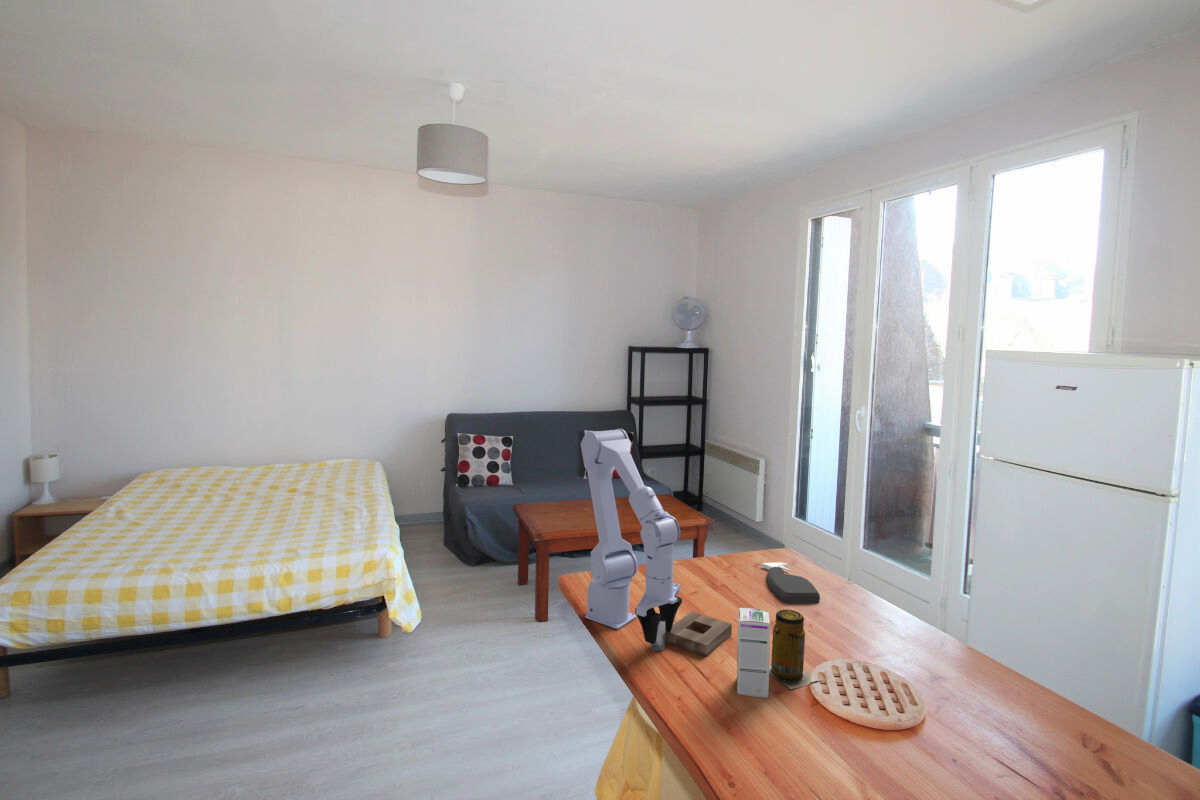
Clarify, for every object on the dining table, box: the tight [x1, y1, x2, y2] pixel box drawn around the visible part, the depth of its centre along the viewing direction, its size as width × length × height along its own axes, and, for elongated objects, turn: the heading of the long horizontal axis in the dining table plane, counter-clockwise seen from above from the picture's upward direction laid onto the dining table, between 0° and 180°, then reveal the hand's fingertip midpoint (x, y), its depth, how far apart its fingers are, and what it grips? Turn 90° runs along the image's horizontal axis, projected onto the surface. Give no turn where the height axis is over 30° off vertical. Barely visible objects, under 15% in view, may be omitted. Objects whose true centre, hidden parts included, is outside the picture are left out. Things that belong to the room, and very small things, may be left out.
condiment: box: [769, 609, 812, 690], centre depth 121 cm, size 7×8×12 cm
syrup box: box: [736, 607, 771, 699], centre depth 116 cm, size 6×6×14 cm
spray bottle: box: [761, 561, 821, 604], centre depth 166 cm, size 3×11×24 cm
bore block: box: [665, 611, 733, 658], centre depth 135 cm, size 10×12×2 cm
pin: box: [649, 618, 666, 652], centre depth 131 cm, size 3×3×6 cm
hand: (658, 636), depth 131 cm, fingers open, 6 cm apart
